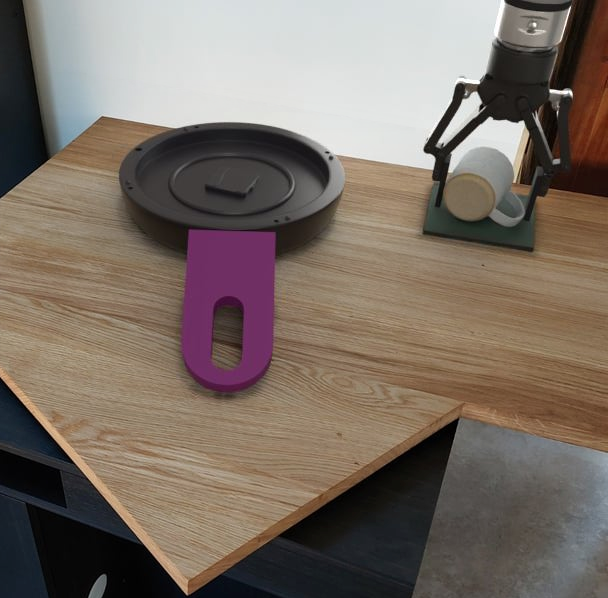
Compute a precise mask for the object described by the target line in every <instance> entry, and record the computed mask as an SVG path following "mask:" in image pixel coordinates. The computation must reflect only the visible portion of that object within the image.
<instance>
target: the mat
mask: <svg viewBox="0 0 608 598" xmlns="http://www.w3.org/2000/svg"><path fill="white" fill-rule="evenodd" d="M439 183H440V182H438V181H433V183H432V188H431V194H430V198H429V202H428V207H427V211H426V216H425V221H424V225H423V230H422V235H426V236H431V237H438V238H444V239H450V240H457V241H463V242H468V243H469V242H470V243H474V244H482V245H487V246H493V247H499V248H507V249H512V250H518V251H526V252H530V253H533V252H534V249H535V221H536V219H535V218H536V217H535V214H536V213H535V211H536V209H535V208H536V204H535V205H534V208H533V211H532V214H531V217H530V221H524V220H523V218H522V219H521V220H520V221H519V222H518V224H517V225H515V226H512V227H507V226H502V225H500V224H498V223H496V222H495V221H493V220H492V219H491V218H490V217H489V216H487V217H485V218H483V219H481V220H478V221H473V222H469V221H463V220H460V219H458V218H456V217H455V216H453V215H452V214H451V213H450V212H449V211H448V210H447V208H446V206H445V204H444V201H443V197H442V201H441V206H440V207H435V202H436V197H437V192H438V188H439ZM445 184H446V183H445ZM514 193H515V192H514ZM515 194H516V195H517V196H518V198H519V199H520V200H521V202H522V203H523V205H524V208H525V205H526V202H527V198H528V195H529V194H521V193H515ZM496 209H497V210H498V211H500V212H501V213H502V214H504V215H506V216H508V217H510V218H515V217H516V213H515V211H514V209H513V208H512V207H511V205H510V204H509V203H508V202H507V201H506V200H504V199H502V200H501V202H500V203H499V205H498V206H497V207H496Z"/></svg>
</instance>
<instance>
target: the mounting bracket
mask: <svg viewBox="0 0 608 598" xmlns="http://www.w3.org/2000/svg"><path fill="white" fill-rule="evenodd" d="M275 234H276V232H250V231H218V230H189V236H188V250H187V254H186V267H185V278H184V279H185V281H184V294H183V295H184V296H183V310H182V321H181V322H182V325H181V337H180V338H181V340H180V348H181V355H182V360H183V363H184V366H185V369H186V370H187V372H188V374H189V375H190V376H191V378H192V379H193V380H194V381H195V382H197V383H198V384H199V385H200V386H202V387H204V388H206V389H208V390H210V391H213V392H217V393H236V392H241V391H243V390H246V389H248V388H250V387H252V386H254V385H255V384H257V383H258V382H259V381H260V380H261V379H262V378H263V377H264V376H265V374H266V373H267V371H268V370H269V367H270V366H271V362H272V358H273V351H274V325H275V321H274V320H275V282H276V281H275V278H276V277H275V274H276V255H275ZM225 306H226V307H227V306H233V307H236V308H237V309H238V310H240V312H241V313H242V317H243V324H242V326H243V327H242V353H241V354H242V355H241V361H240V362H239V364H238V365H237V366H236V367H233V368H232V369H221V368H219V367H217V365H215V364H214V363H213V360H212V359H213V356H212V355H213V342H214V341H213V340H214V339H213V338H214V323H215V321H214V320H215V314H216V312H217V311H218V310H219V309H220V308H223V307H225Z"/></svg>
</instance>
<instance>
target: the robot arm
mask: <svg viewBox="0 0 608 598" xmlns="http://www.w3.org/2000/svg"><path fill="white" fill-rule="evenodd" d="M573 2H574V0H501V2H500V7H499V11H498V15H497V19H496V24H495V27H494V36H496V37H495V38H494V39H492V41H491V45H490V49H489V53H488V57H487V62H486V65H485V69H484V74H483V75H482V77H481V78H480V79H479V80H472V79H467V77H466V76H465V75H459V76H458V77H457V78H456V81H455V84H454V85H455V86H454V90H453V94H452V95H451V97H450V99H449V100H448V102H447V104H446V105H445V107H444V108H443V110H442V112H441V114H440V115H439V117H438V118H437V121H436V122H435V124H434V126H432V129H431V130H430V132H429V134H428V135H427V137H426V138H425V141H424V145H423V147H422V148H423V150H422V151H423V153H425V155H426V154H427V155H432V156H433V157H434V165H433V168H432V174H431V180H432V182H434V181H435V182H440V183H439V188H438V192H437V197H436V202H435V207H440V206H441V201H442V197H443V190H444V187H445V183H446V182H447V180H448V174H449V170H450V165H451V161H452V155H453V154H452V153H453V151H455V150H456V149H457V147H459V146H460V145H461V144H462V143H463V142H464V141H465V140H466V139H467V138H468V137H469V136H470V135H471V134H473V132H474V131H476V129H478V128H479V126H480V125H483V124H484V123H485V122H486V121H487V120H488V119H492V120H493V121H500V122H501V121H507V122H510V123H514V124H519V123H520V122H523V123H524V126H525V128H526V130H527V132H528V134H529V137H530V139H531V142H532V145H533V147H534V150H535V152H536V155H537V157H538V160H539V163H540V165H541V166H539V165H537V166H536V169H535V173H534V176H533V179H532V182H531V185H530V189H529V192H528V194H527V195H528V198H527V202H526V205H525V215H524V217H523V220H524V221H530V217H531V214H532V211H533V208H534V205H535V206H536V201H537V198H538V197H541V198H545V196H547V194H548V191H549V188H550V186H551V183H552V179H553V177H555V175H556V174H559V173H563V174H568V173H569V172H571V170H572V158H571V144H570V143H571V142H570V126H569V125H570V123H569V114H570V112H571V111H570V110H571V108H572V104H573V101H574V100H573V99H574V98H573V90H572V89H571V88H569V87H568V88H564V89H563V90H557V89H551V88H550V82H551V81H550V80H551V78H552V75H553V70H554V67H555V64H556V60H557V58H558V57H557V56H558V53H559V48H558V45H559V44H560V43H561V42H562V40H563V35H564V32H565V28H566V26H567V22H568V18H569V14H570V12H571V7H572V5H573ZM473 93H477V96H478V97H479V100H480V101H481V102H480V103H479V104H478V105H477V106H476V107H475V109H474V110H473V111H472V112H471V113H470V114H469V115H468V116H467V118H466V119H464V120H463V121H462V122H461V123H460V124H459V125H458V126H457V127H456V128H455V129H454V130H453V131H452V132H451V133H450V134H449V135H448V136H446V138H445V139H444V140H443V141H441V142H440V140H441V139H442V137H443V135H444V133H445V132H446V130H447V128H448V127H449V125H450V123H451V122H452V120H453V118H454V117H455V116H456V114H457V113H458V111H459V109H460V107H461V105H462V103H463V100H468V99H470V97H471V96H472V94H473ZM547 102H550V103H551V108H552V110H553V111H556V118H557V119H556V122H557V134H558V136H557V137H558V150H559V151H558V152H559V158H555V159H554V157H553V154H552V152H551V150H550V146H549V144H548V141H547V138H546V136H545V133H544V130H543V128H542V125H541V122H540V120H539V116H538V113H537V111H538V110H539V109H540V108H541V107H542V106H544V105H545V104H546V103H547Z"/></svg>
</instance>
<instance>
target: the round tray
mask: <svg viewBox="0 0 608 598" xmlns="http://www.w3.org/2000/svg"><path fill="white" fill-rule="evenodd" d="M118 181H119V187H120V191H121V194H122V197H123V202H124V204H125V206H126V208H127V211H128V213H129V214H130V216H131V217H132V219H133V221H134V223H136V225H137V226H138V227H139V228H140V229H141V230H142V231H143V232H144V233H145V234H147V236H149V237H150V238H152V240H154V241H156V242H158V243H159V244H161V245H163V246H165V247H168V248H170V249H172V250H175V251H177V252H180V253H184V254H186V255H187V250H188V236H189V230H218V231H250V232H276V234H275V256H276V255H280V254H284V253H287V252H290V251H292V250H294V249H298V248H299V247H301V246H303V245H305V244H306V243H308V242H310V241H311V240H313V239H314V238H315V237H316V236H318V235H319V234H320V233H322V231H324V229H325V228H326V227H327V226H328V225H329V223H330V222H331V220H332V219H333V217H334V216H335V214H336V212H337V209H338V207H339V205H340V203H341V199H342V196H343V193H344V190H345V185H346V173H345V169H344V167H343V164H342V163H341V161H340V159H339V158H338V157H337V155H335V154H334V153H333V152H332V151H331V150H330V149H329V148H328V147H326V146H325V145H323V144H322V143H320V142H319V141H317V140H315V139H313V138H311V137H309V136H306V135H304V134H301V133H299V132H296V131H293V130H290V129H286V128H283V127H277V126H273V125H268V124H261V123H252V122H240V121H239V122H237V121H219V122H218V121H217V122H205V123H196V124H190V125H185V126H180V127H177V128H173V129H169V130H166V131H163V132H161V133H157V134H155V135H153V136H150V137H149V138H147V139H145V140H143V141H142V142H140V143H139V144H137V145H136V146H134V147H133V148H132V149H131V150H130V151H129V152H128V153H127V154H126V155H125V156H124V157H123V160H122V162H121V164H120V166H119V170H118Z"/></svg>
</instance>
